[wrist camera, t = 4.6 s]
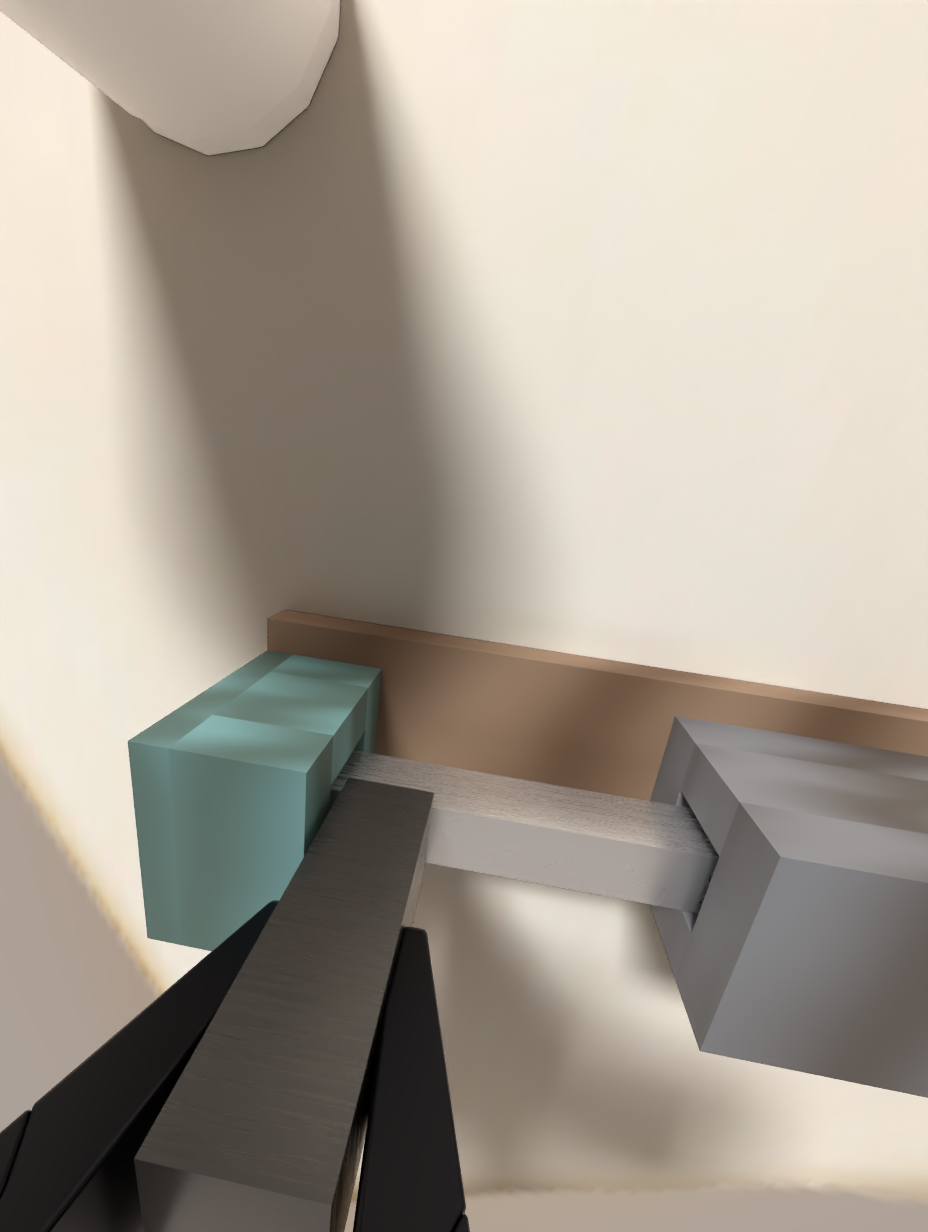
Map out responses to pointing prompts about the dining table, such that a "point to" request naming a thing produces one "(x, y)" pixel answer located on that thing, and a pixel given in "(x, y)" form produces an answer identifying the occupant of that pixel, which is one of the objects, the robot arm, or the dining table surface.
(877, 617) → the dining table surface
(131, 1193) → the robot arm
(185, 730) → the wooden long base
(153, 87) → the foam cup
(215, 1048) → the angled grey metal bar
